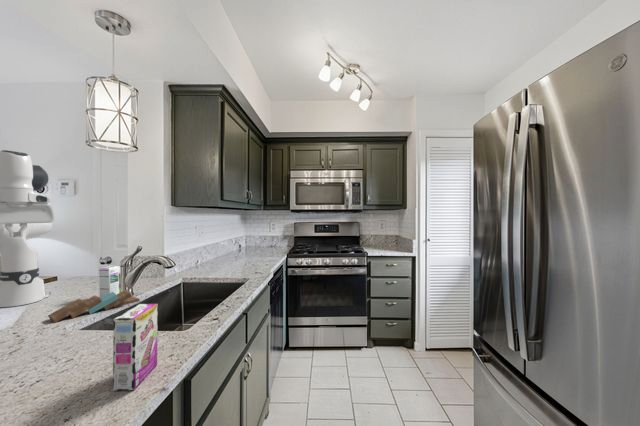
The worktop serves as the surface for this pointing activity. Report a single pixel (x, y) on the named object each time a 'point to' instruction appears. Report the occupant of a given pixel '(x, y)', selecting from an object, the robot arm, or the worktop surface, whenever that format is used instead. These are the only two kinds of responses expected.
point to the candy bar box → (134, 346)
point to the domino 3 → (104, 302)
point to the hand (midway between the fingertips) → (16, 236)
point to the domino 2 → (86, 306)
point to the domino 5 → (127, 301)
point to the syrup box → (109, 280)
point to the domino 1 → (66, 310)
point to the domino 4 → (119, 299)
